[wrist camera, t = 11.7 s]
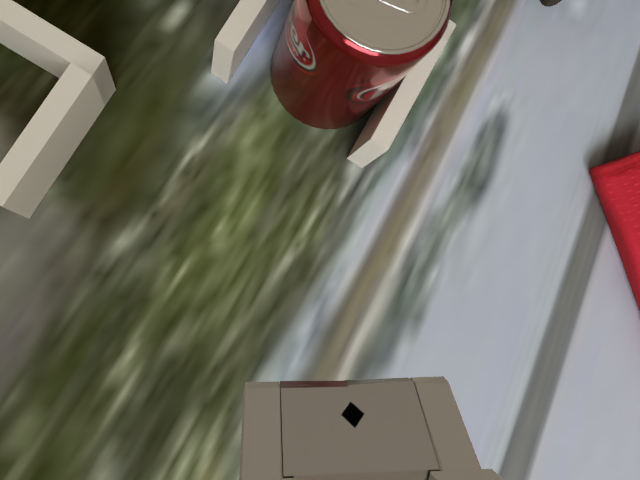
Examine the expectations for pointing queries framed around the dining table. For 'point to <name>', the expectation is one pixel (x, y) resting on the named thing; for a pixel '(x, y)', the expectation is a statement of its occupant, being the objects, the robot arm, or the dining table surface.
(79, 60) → the white open tray
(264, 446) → the robot arm
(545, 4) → the brown irregular lump
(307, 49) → the soda can
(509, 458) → the dining table surface
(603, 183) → the dish drying mat
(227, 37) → the beige angled piece
